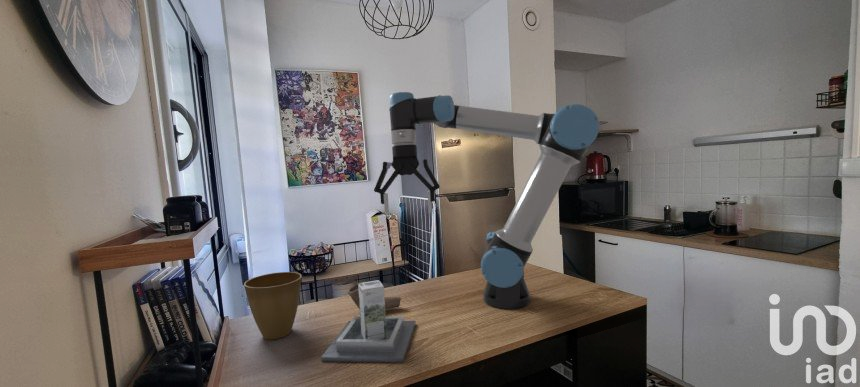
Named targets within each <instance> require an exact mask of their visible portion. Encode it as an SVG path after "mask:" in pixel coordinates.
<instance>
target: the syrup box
mask: <svg viewBox="0 0 860 387" xmlns="http://www.w3.org/2000/svg"><path fill="white" fill-rule="evenodd" d="M363 282H364V283H359V282H358V283H359V284H358V289H359V305H360V310H359V315H360V316H359V317H360V322H361V334H362V336H363V339H386V338H387V337H386V317H387V316H386V310H385V297H386V295H385V286H384V285H383V284H382V282H381V281H380V280H378V279H377V280H372V281H363Z"/></svg>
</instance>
